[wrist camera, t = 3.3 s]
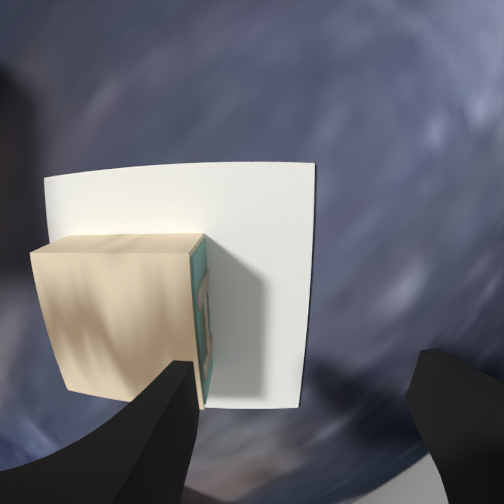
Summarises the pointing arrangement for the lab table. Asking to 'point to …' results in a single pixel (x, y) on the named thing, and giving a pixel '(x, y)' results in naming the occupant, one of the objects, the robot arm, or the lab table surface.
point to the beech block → (125, 309)
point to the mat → (219, 256)
